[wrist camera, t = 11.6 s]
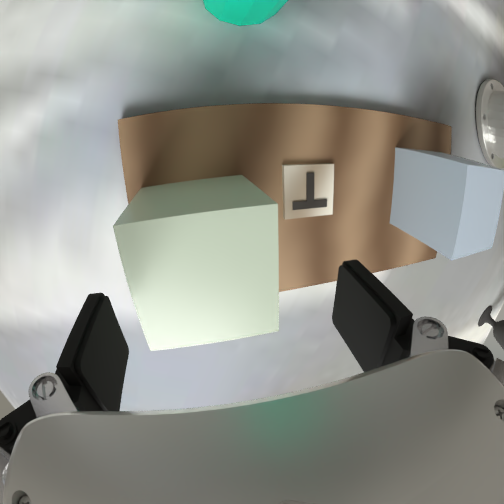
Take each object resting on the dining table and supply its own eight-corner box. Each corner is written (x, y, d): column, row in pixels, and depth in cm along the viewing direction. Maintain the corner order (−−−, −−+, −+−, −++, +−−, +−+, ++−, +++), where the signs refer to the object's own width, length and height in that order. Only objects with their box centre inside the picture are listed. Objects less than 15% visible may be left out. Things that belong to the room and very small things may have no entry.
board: (444, 125, 22) (455, 126, 20) (430, 254, 28) (438, 259, 27) (121, 120, 16) (115, 119, 15) (154, 304, 23) (153, 314, 21)
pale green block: (241, 174, 19) (277, 203, 12) (247, 264, 22) (278, 331, 15) (141, 187, 18) (113, 226, 10) (158, 277, 21) (150, 350, 13)
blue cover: (442, 152, 22) (505, 170, 15) (435, 217, 25) (491, 248, 18) (395, 147, 20) (467, 164, 13) (389, 223, 23) (451, 260, 16)
